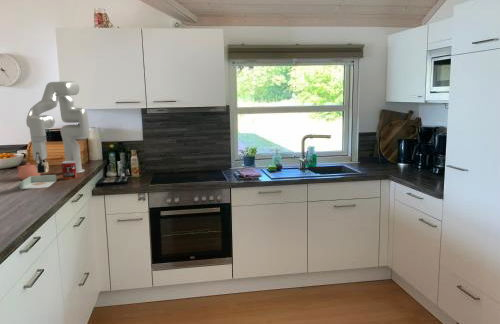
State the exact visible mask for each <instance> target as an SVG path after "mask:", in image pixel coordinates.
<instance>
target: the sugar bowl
mask: <svg viewBox="0 0 500 324" xmlns="http://www.w3.org/2000/svg"><path fill="white" fill-rule="evenodd" d="M17 171H18V173H17V176H18V179H19V180H22V181H23V180H25V179H26V178H28V177H30V176H41V173H37V171H36V164H31V162H26V163H25V164H24V165H19V166H17Z"/></svg>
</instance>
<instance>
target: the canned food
mask: <svg viewBox="0 0 500 324" xmlns="http://www.w3.org/2000/svg"><path fill="white" fill-rule="evenodd" d="M61 169H62V178H63V180H74V179H77V178H78V173H76V164H75V161H65V160H64V161H62V162H61Z"/></svg>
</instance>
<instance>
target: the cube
mask: <svg viewBox="0 0 500 324" xmlns="http://www.w3.org/2000/svg"><path fill="white" fill-rule="evenodd" d="M43 165H44V171H45V172H44V174H45V173H46V174H47V173H48V172H49V171H50V167H49V162H48V161H47V162H43ZM35 166H36V171H37V173H38V168H37V163H35Z"/></svg>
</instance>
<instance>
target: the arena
mask: <svg viewBox="0 0 500 324" xmlns="http://www.w3.org/2000/svg"><path fill="white" fill-rule="evenodd" d="M56 182H57V174H46V175H40V176H30V177H28V178H26V179H25V180H22V181H19V182H18V186H19V189H20V190H25V189H26V190H27V189H44V188H49V187H51V186H52V185H53V184H54V183H56Z"/></svg>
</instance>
